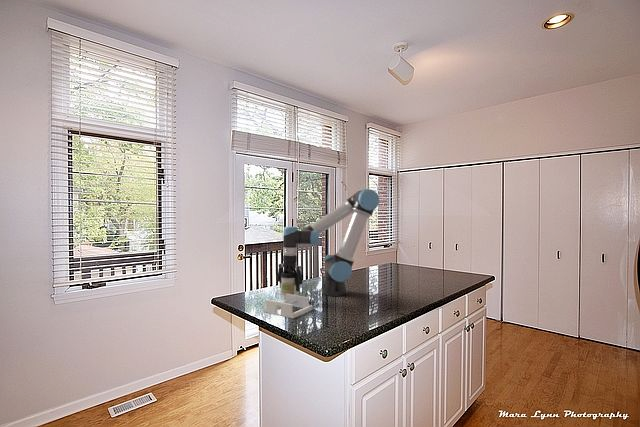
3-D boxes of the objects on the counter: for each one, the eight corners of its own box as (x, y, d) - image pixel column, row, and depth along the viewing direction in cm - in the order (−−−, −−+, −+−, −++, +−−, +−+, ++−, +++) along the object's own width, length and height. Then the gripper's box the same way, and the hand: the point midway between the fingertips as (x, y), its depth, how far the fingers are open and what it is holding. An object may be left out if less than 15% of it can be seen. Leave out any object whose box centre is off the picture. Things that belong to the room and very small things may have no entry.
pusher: (286, 304, 178) (286, 293, 178) (308, 308, 171) (309, 297, 171) (267, 311, 165) (267, 299, 165) (291, 316, 158) (291, 304, 158)
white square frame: (285, 303, 180) (285, 292, 180) (313, 309, 171) (313, 297, 171) (264, 311, 166) (264, 299, 165) (293, 318, 156) (293, 305, 156)
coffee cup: (278, 298, 190) (278, 271, 190) (295, 297, 194) (295, 270, 193) (282, 303, 181) (283, 275, 181) (300, 301, 185) (300, 274, 184)
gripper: (270, 253, 189) (269, 294, 190) (302, 257, 178) (301, 300, 179) (278, 252, 196) (278, 291, 196) (310, 255, 185) (309, 297, 185)
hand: (289, 295), depth 187 cm, fingers closed on coffee cup, 9 cm apart
